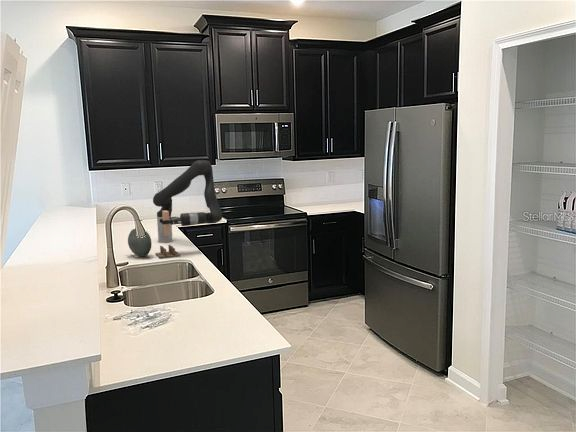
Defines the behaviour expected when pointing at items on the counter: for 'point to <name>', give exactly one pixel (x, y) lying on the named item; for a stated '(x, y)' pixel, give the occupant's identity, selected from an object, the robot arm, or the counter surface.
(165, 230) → the terracotta card
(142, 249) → the dark green ellipsoid
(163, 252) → the walnut rack
